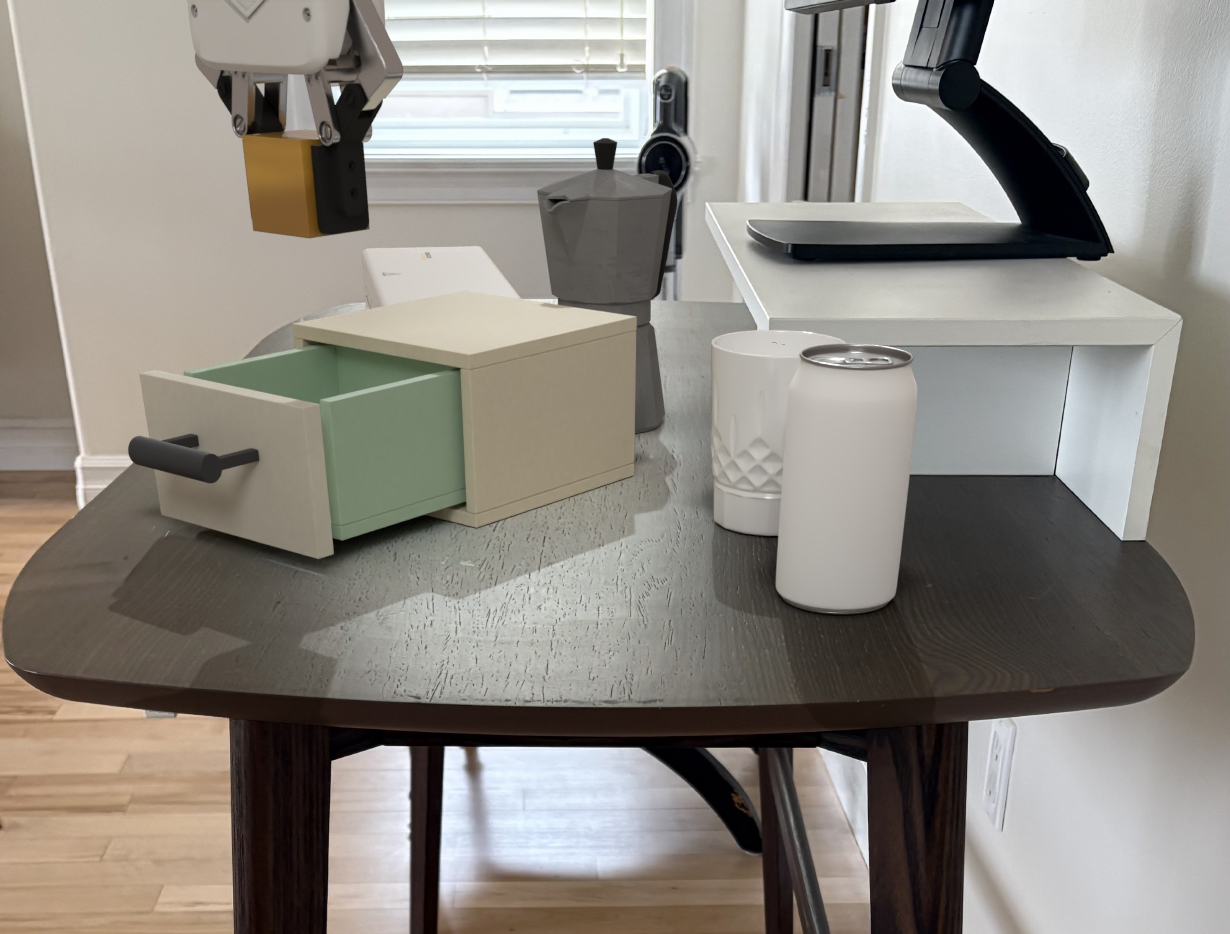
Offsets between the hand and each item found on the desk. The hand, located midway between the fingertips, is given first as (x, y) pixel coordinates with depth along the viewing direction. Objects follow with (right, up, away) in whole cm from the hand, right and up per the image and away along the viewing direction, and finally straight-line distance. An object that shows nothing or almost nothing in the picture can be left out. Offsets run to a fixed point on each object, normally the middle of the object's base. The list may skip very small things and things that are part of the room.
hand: (310, 222), depth 84 cm
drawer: (-2, -13, +9) cm, 15 cm away
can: (+28, -20, +1) cm, 35 cm away
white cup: (+26, -12, +12) cm, 31 cm away
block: (0, 0, 0) cm, 0 cm away
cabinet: (+7, -7, +19) cm, 21 cm away
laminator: (+2, +16, +51) cm, 54 cm away
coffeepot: (+16, +4, +33) cm, 37 cm away
